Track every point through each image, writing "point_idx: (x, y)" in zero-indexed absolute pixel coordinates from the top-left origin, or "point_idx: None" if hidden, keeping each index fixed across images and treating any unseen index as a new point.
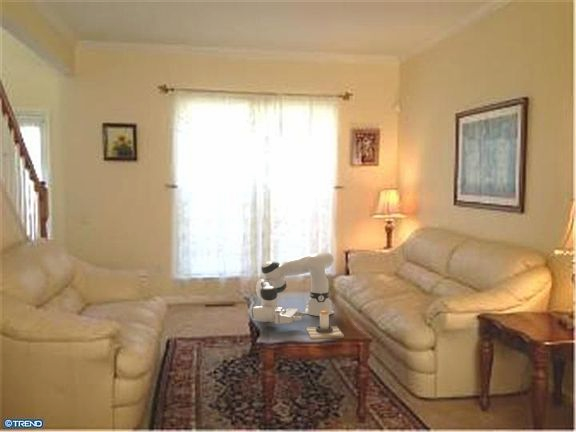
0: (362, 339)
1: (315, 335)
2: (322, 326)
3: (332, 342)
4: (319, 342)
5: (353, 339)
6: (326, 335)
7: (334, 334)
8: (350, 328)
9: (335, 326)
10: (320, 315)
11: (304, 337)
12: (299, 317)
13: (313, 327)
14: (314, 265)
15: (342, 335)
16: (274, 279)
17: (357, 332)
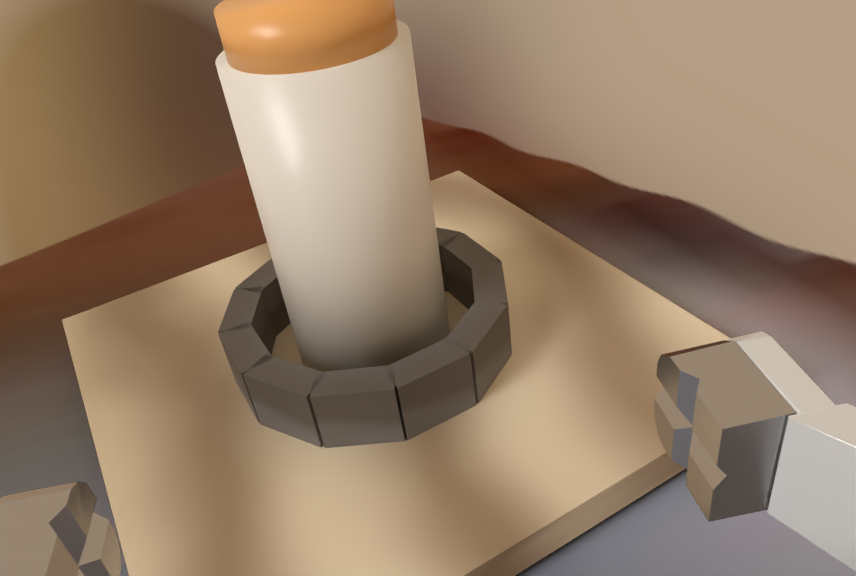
0: (425, 121)
1: (680, 346)
2: (439, 255)
3: (690, 205)
4: (819, 278)
5: (461, 149)
6: (571, 260)
7: (471, 224)
8: (49, 265)
9: (65, 331)
10: (390, 87)
11: (797, 533)
12: (795, 374)
13: (169, 572)
14: None
15: (466, 175)
16: None
17: (207, 192)
